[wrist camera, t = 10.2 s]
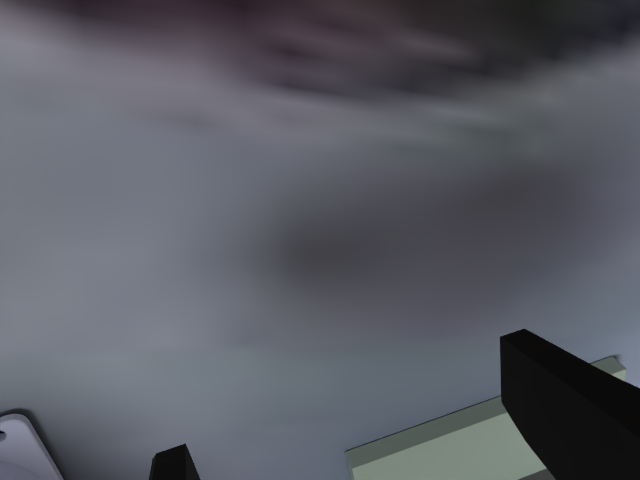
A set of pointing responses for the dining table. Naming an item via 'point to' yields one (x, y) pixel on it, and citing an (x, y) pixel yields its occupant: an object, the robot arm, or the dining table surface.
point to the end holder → (458, 447)
